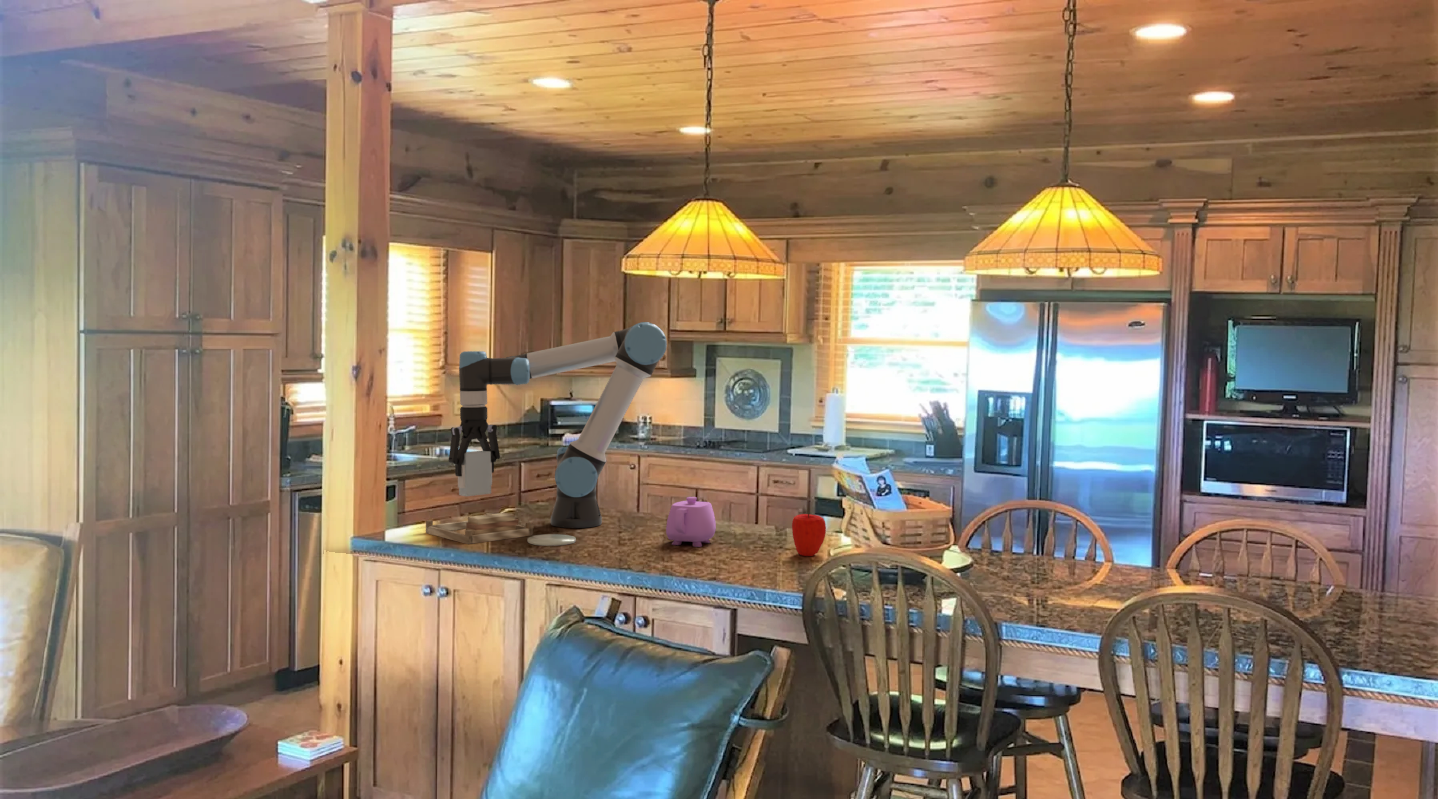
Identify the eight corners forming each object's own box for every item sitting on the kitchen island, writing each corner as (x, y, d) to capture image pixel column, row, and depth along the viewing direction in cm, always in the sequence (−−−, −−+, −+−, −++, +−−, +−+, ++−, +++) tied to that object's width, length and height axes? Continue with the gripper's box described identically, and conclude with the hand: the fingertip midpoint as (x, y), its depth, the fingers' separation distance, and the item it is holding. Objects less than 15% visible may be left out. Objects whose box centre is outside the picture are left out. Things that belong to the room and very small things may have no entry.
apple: (832, 555, 301) (832, 514, 300) (809, 559, 295) (810, 517, 294) (806, 550, 307) (807, 510, 306) (784, 554, 301) (785, 513, 300)
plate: (556, 535, 324) (556, 532, 324) (585, 541, 314) (585, 539, 314) (518, 540, 315) (518, 537, 315) (546, 547, 305) (546, 544, 305)
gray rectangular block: (483, 492, 330) (482, 450, 329) (491, 493, 327) (490, 451, 326) (459, 495, 324) (458, 452, 323) (466, 496, 321) (465, 453, 321)
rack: (489, 524, 339) (489, 513, 339) (532, 535, 323) (532, 522, 323) (425, 532, 325) (425, 520, 324) (467, 544, 309) (467, 531, 309)
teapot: (699, 551, 304) (700, 503, 303) (656, 547, 308) (656, 500, 307) (724, 538, 323) (725, 493, 322) (683, 535, 327) (684, 491, 326)
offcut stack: (509, 533, 326) (509, 512, 326) (519, 535, 323) (519, 514, 322) (465, 538, 316) (465, 517, 316) (475, 541, 313) (475, 519, 312)
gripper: (497, 403, 334) (499, 481, 335) (433, 407, 319) (435, 488, 321) (512, 404, 329) (513, 483, 330) (448, 408, 314) (449, 491, 315)
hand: (475, 486), depth 325 cm, fingers closed on gray rectangular block, 8 cm apart
